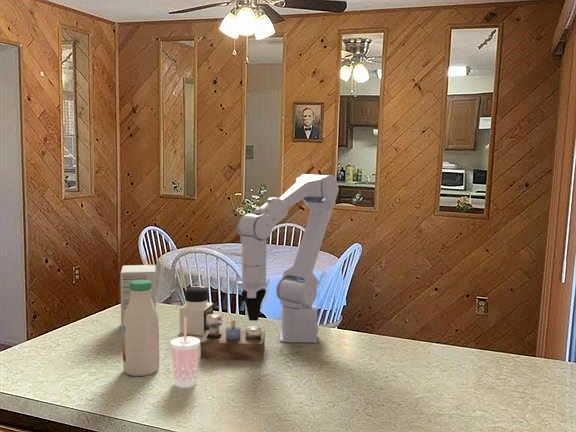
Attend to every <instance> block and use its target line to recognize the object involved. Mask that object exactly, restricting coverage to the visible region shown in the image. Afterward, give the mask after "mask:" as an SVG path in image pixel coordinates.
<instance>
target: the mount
mask: <svg viewBox="0 0 576 432" xmlns="http://www.w3.org/2000/svg"><path fill="white" fill-rule="evenodd" d="M265 335H266V332H265V331H263V330H261V338H259V339H258V340H253V339H248V338H246V337H245V336H246V330H240V339H239V340H227V339H226V329H225V330H223V329H222V330H221V329H219V339H210V338H209V330H207V331H206V333H205V335H203V337H202V339H201V340H200V359H201V360H235V361H236V360H237V361H239V360H240V361H241V360H242V361H263V359H264V353H265V345H266V343H265V341H266V340H265V339H266V337H265Z"/></svg>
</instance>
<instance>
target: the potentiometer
mask: <svg viewBox="0 0 576 432" xmlns="http://www.w3.org/2000/svg"><path fill="white" fill-rule="evenodd" d="M236 321H237V320H236V319H231V321H230V324H231V325H230V326H227V327H226V328H225V331H226V339H227V340H239V339H240V331H241V327H240V326H237V325H236V323H237V322H236Z"/></svg>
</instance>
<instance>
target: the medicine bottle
mask: <svg viewBox="0 0 576 432" xmlns="http://www.w3.org/2000/svg"><path fill="white" fill-rule="evenodd" d="M184 293H185V294H184V295H185V296H184V297H185V299H184V300H185V301H184V303H185V304H183V305H182V306H180V307H179V334H182V335H184V318H185V317H186V335H195V336H196V335H197V336H204V335H205V333H206V331H207V330H209V326H207V325H206V316H207V315H209V314H214V303H213V302H209V289H208V288H207V287H205V286H201V285H194V286H189V287H188V288H186V289H185V291H184Z"/></svg>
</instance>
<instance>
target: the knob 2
mask: <svg viewBox="0 0 576 432" xmlns="http://www.w3.org/2000/svg"><path fill="white" fill-rule="evenodd" d="M245 331H246V336H245V337H246V338H248V339H253V340H258V339H259V338H261V331H262V327H261V326H257V325H251V326H247V327H245Z"/></svg>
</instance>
